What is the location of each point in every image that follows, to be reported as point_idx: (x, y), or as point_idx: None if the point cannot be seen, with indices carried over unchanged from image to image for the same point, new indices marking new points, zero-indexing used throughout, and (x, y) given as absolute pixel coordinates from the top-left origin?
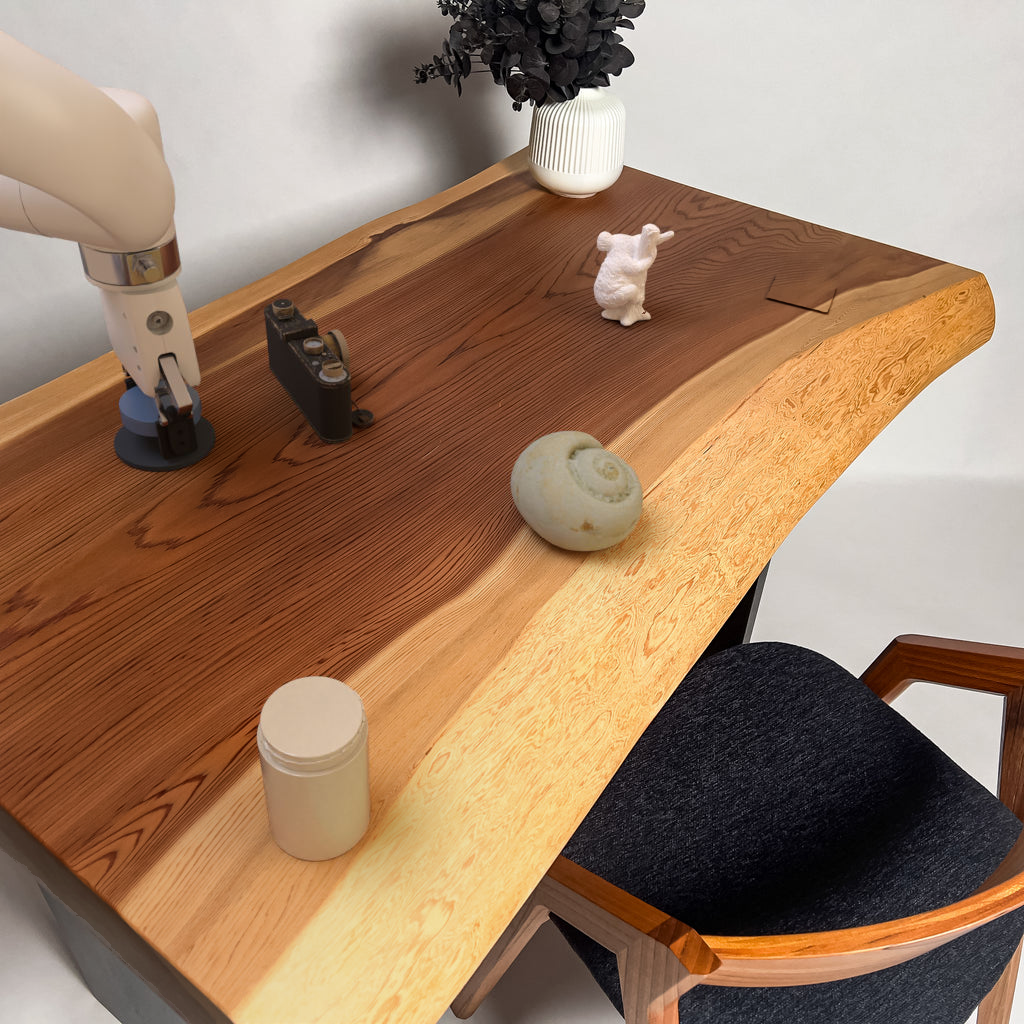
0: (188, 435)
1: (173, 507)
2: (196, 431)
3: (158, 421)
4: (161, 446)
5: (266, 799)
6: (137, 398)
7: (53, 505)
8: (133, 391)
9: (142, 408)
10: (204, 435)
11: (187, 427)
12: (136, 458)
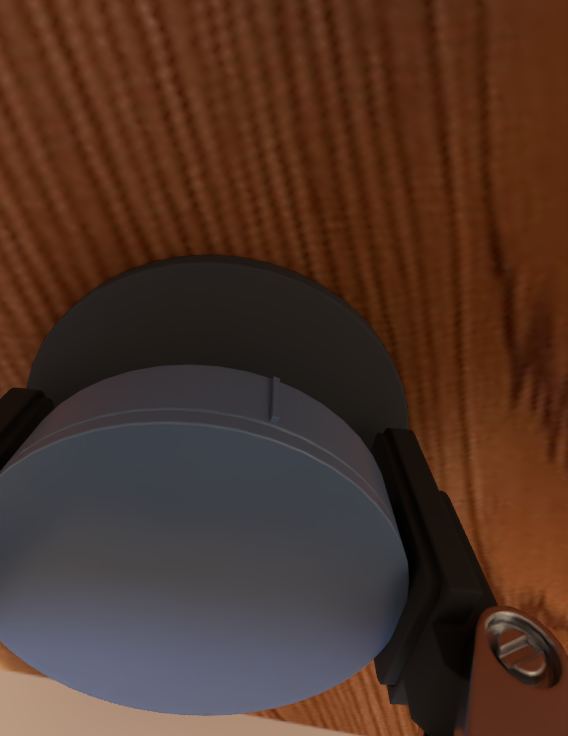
0: (465, 542)
1: (526, 538)
2: (256, 346)
3: (400, 694)
4: None
5: None
6: (116, 655)
7: None
8: (39, 647)
9: (215, 666)
10: (306, 336)
11: (489, 587)
12: None
